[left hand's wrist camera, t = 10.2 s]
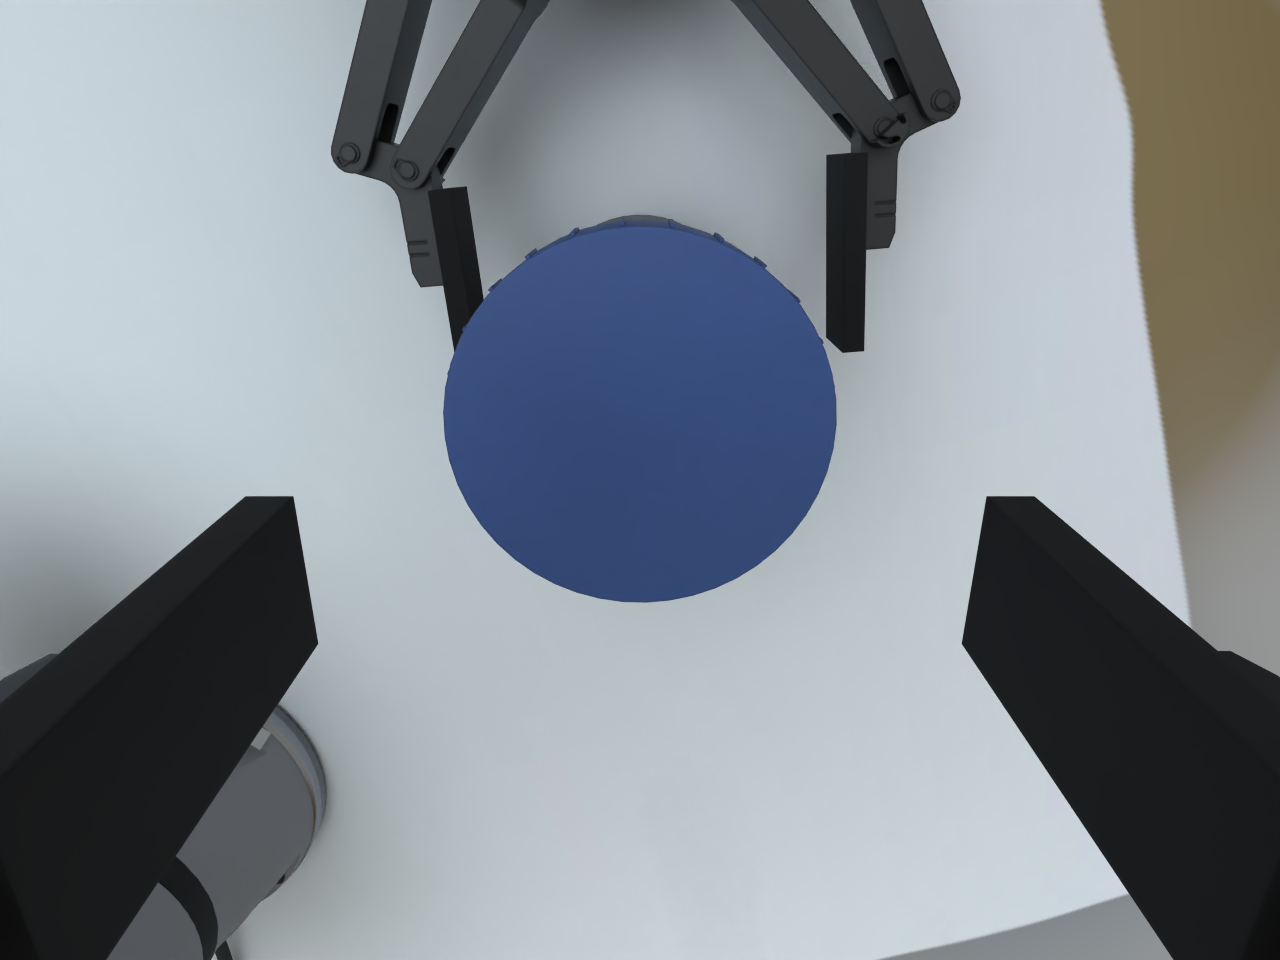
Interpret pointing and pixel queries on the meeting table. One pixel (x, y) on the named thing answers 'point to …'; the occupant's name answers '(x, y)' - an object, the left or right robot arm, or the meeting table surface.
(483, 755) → the meeting table surface
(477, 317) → the lid
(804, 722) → the meeting table surface
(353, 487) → the meeting table surface
